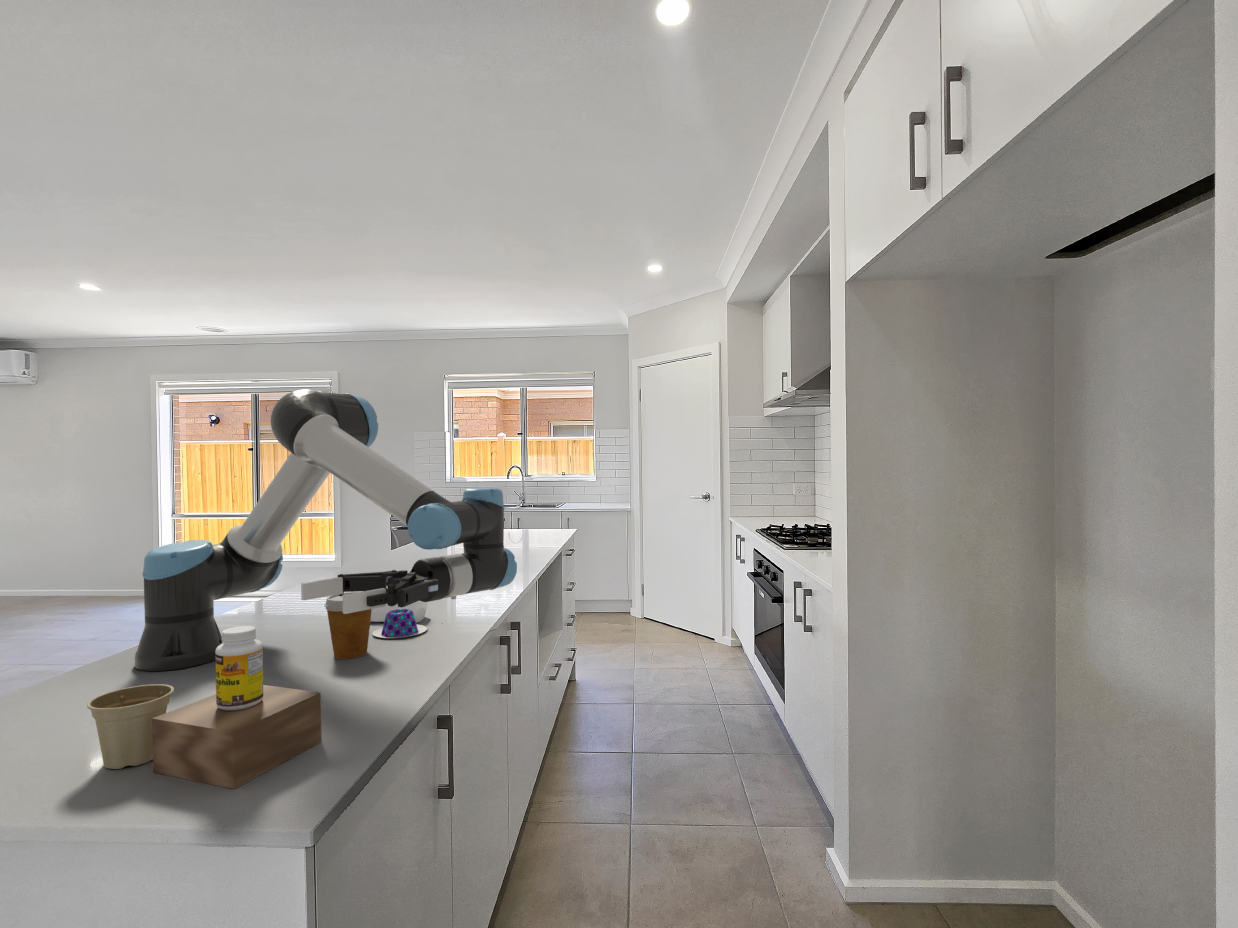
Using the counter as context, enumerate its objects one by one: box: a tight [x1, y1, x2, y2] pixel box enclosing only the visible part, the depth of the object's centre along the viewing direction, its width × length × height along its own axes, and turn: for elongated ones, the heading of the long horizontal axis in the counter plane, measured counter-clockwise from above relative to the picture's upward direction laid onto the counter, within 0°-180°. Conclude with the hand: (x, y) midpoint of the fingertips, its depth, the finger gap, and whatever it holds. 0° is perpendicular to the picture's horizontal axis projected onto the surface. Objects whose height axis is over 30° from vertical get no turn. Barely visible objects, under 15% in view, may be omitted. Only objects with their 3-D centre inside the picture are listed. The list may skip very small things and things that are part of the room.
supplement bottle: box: [215, 625, 264, 711], centre depth 89 cm, size 6×6×10 cm
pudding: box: [371, 609, 428, 639], centre depth 151 cm, size 12×12×5 cm
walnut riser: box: [152, 684, 323, 790], centre depth 89 cm, size 14×14×7 cm
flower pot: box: [86, 683, 175, 770], centre depth 89 cm, size 9×9×9 cm
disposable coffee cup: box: [323, 591, 372, 660], centre depth 135 cm, size 10×10×12 cm
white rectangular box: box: [344, 592, 428, 623], centre depth 163 cm, size 7×7×24 cm
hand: (321, 597), depth 101 cm, fingers open, 13 cm apart
